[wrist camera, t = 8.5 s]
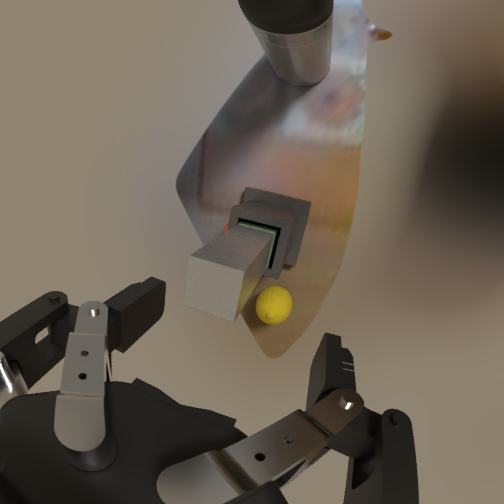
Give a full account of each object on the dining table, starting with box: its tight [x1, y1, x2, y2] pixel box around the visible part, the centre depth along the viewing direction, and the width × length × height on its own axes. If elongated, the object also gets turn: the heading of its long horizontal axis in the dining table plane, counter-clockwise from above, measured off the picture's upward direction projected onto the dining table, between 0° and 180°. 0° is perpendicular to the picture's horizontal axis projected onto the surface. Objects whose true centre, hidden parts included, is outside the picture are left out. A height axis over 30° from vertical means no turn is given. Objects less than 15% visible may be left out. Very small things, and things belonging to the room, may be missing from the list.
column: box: [184, 220, 281, 322], centre depth 28 cm, size 4×4×19 cm
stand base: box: [224, 187, 311, 280], centre depth 37 cm, size 10×10×12 cm
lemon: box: [256, 286, 292, 325], centre depth 42 cm, size 6×6×8 cm
